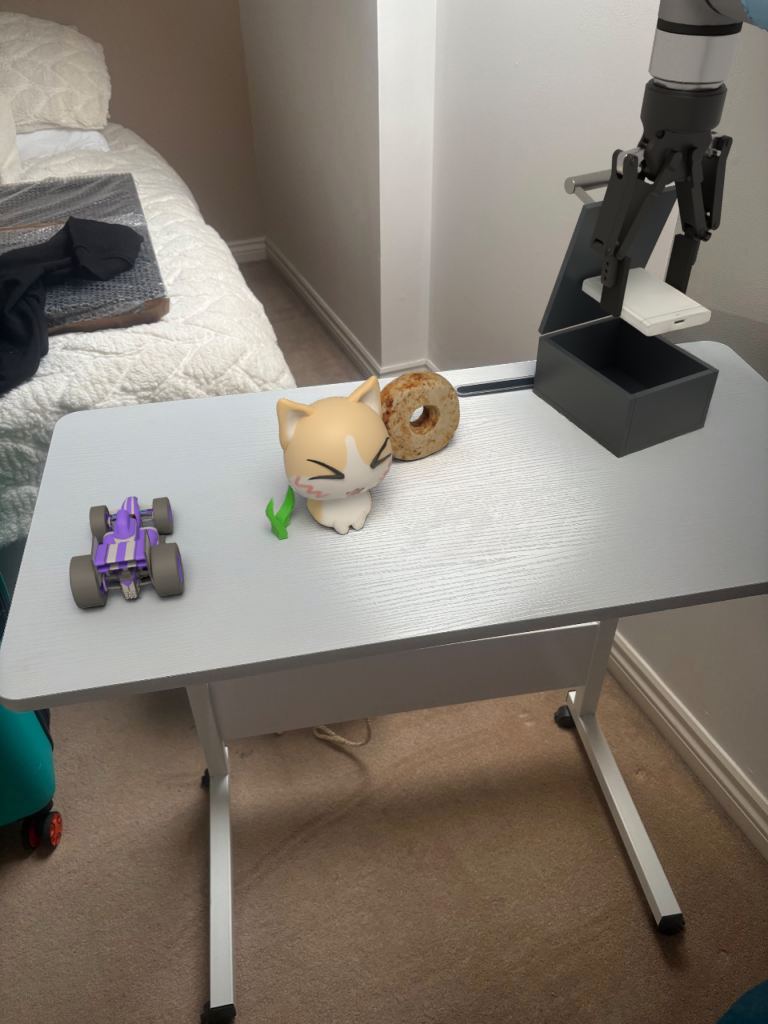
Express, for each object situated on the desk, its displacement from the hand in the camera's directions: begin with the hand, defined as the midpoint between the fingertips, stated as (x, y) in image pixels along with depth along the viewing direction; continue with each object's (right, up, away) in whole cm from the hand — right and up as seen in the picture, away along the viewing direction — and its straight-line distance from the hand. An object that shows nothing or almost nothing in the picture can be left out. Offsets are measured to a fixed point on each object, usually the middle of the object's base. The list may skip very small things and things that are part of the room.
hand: (642, 302), depth 93 cm
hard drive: (0, -1, 0) cm, 1 cm away
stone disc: (-25, -17, +3) cm, 30 cm away
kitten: (-34, -24, -6) cm, 42 cm away
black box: (0, -11, +10) cm, 15 cm away
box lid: (-3, +5, +3) cm, 7 cm away
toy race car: (-54, -28, -10) cm, 62 cm away
